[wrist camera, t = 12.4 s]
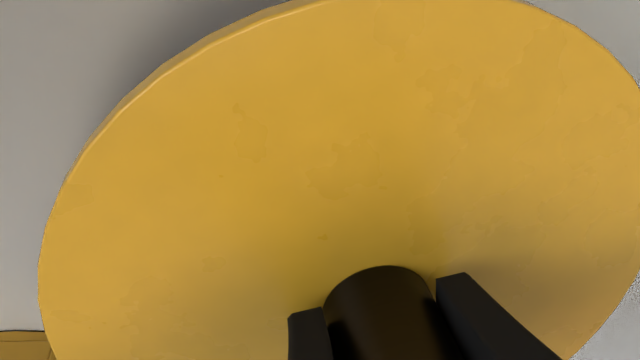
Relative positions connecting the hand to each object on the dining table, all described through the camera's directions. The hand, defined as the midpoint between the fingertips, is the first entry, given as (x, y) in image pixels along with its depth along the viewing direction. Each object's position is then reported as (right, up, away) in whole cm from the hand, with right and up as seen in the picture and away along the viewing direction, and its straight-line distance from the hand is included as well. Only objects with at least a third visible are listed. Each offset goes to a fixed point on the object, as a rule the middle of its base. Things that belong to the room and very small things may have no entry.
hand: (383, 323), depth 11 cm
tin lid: (0, +1, +1) cm, 1 cm away
